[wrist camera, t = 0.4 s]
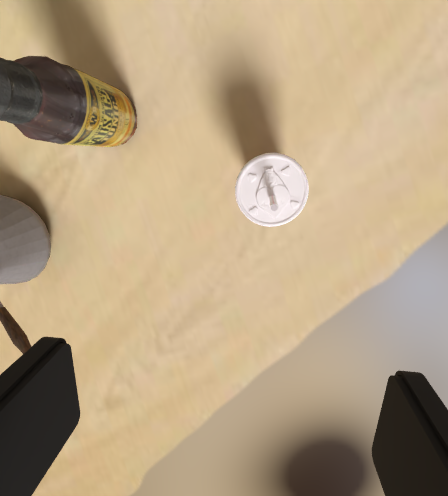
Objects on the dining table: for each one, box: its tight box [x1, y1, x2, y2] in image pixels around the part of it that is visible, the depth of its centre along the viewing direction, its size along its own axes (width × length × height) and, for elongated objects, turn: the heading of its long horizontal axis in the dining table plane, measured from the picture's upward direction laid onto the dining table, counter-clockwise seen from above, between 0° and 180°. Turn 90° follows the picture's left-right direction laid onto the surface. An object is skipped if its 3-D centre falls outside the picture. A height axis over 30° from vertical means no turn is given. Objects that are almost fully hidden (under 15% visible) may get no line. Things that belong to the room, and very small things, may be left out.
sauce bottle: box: [0, 56, 137, 147], centre depth 27 cm, size 7×6×20 cm
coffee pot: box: [0, 195, 51, 354], centre depth 36 cm, size 21×12×15 cm, turn 51°
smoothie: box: [235, 153, 309, 227], centre depth 30 cm, size 6×6×14 cm
